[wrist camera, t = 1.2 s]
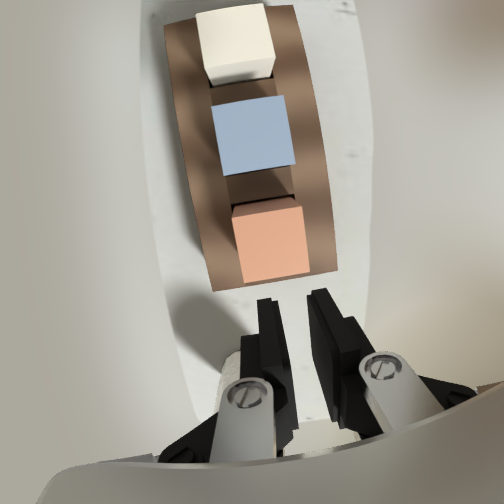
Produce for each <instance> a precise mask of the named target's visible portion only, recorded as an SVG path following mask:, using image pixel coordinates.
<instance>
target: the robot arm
mask: <svg viewBox="0 0 504 504" xmlns="http://www.w3.org/2000/svg"><path fill="white" fill-rule="evenodd" d="M307 305H308V315H309V326H310V337H311V348H312V357H313V361H314V364H315V368H316V371H317V374H318V377H319V381H320V384H321V387H322V391H323V394H324V397H325V401H326V404H327V407H328V411H329V414H330V418H331V421H332V422H336V421H337V422H338V425H339V428H340V429H344V428H348V429H350V430H353V431H354V436H355V439H356V442H353V443H350V444H345V445H341V446H337V447H332V448H328V449H323V450H319V451H314V452H308V453H302V454H297V455H291V456H285V451H284V447H285V446H286V445H287V444H288V443H289V442H290V441H291V440H292V439H293V432H292V430H296V429H299V427H298V418H297V410H296V402H295V394H294V386H293V379H292V371H291V365H290V359H289V354H288V349H287V344H286V339H285V334H284V329H283V324H282V320H281V315H280V310H279V305H278V300H277V301H272V300H271V298H266V299H260V300H257V309H258V323H259V334H253V335H246V336H241V347H240V379H239V380H237V381H234V382H233V383H231V384H230V385H228V386H227V387H226V388H225V390H224V391H223V394H222V397H221V402H220V407H219V411H218V412H217V413H215V414H214V415H213V416H211V417H210V418H208V419H207V420H206V421H204V422H203V423H201V424H200V425H199V426H197V427H196V428H194V429H193V430H192V431H190V432H189V433H187V434H186V435H184V436H183V437H181V438H180V439H178V440H177V441H175V442H174V443H172V444H171V445H169V446H168V447H167V448H166V449H164V450H163V451H162V453H161V454H160V455H158V456H154V455H153V454H152V453H151V454H146V455H141V456H135V457H129V458H123V459H116V460H109V461H101V462H97V463H92V464H86V465H80V466H75V467H71V468H68V469H66V470H63V471H61V472H59V473H58V474H56V475H55V476H54V477H53V478H52V479H51V480H50V481H49V483H48V484H47V485H46V487H45V488H44V490H43V492H42V493H41V495H40V497H39V498H38V500H37V502H36V504H504V381H501V382H497V383H492V384H488V385H483V386H478V387H476V389H475V391H474V390H472V389H471V388H469V387H466V386H463V385H459V384H454V383H449V382H445V381H440V380H436V379H432V378H427V377H423V376H419V375H417V374H416V373H415V372H414V370H413V369H412V368H411V367H410V365H409V364H408V363H407V362H406V361H405V359H403V358H402V357H401V356H400V355H398V354H396V353H393V352H388V351H387V352H386V351H385V352H375V350H374V348H373V347H372V345H371V344H370V342H369V340H368V338H367V337H366V335H365V334H364V332H363V330H362V329H361V327H360V325H359V324H358V322H357V321H356V319H355V318H354V317H353V316H351V317H346V318H343V316H342V314H341V313H340V311H339V309H338V307H337V306H336V304H335V302H334V300H333V299H332V297H331V295H330V294H329V292H328V290H327V289H326V288H323V289H317V290H312V291H311V295H307Z"/></svg>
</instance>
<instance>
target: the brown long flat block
mask: <svg viewBox="0 0 504 504" xmlns="http://www.w3.org/2000/svg"><path fill="white" fill-rule="evenodd" d="M264 9H265V13H266V18H267V22H268V26H269V30H270V34H271V39H272V43H273V47H274V52H275V56H276V58H275V61H274V65H273V68H272V71H271V75H270V78H269V79H262V80H255V81H248V82H242V83H236V84H230V85H225V86H219V87H213V85H212V83H211V81H210V79H209V77H208V75H207V72H206V70H205V68H204V62H203V56H202V50H201V44H200V38H199V32H198V26H197V20H196V18H192V19H187V20H183V21H179V22H175V23H172V24H168V25H164V34H165V41H166V49H167V57H168V64H169V71H170V78H171V84H172V91H173V97H174V103H175V110H176V116H177V122H178V127H179V133H180V139H181V144H182V150H183V155H184V161H185V166H186V171H187V176H188V181H189V187H190V192H191V196H192V201H193V206H194V211H195V216H196V220H197V225H198V230H199V234H200V239H201V243H202V248H203V252H204V257H205V261H206V265H207V270H208V274H209V278H210V282H211V286H212V290H213V292H215V291H221V290H228V289H234V288H240V287H246V286H253V285H259V284H265V283H271V282H277V281H283V280H288V279H294V278H300V277H305V276H311V275H317V274H322V273H327V272H333V271H338V266H337V253H336V242H335V231H334V221H333V212H332V203H331V195H330V187H329V179H328V172H327V165H326V158H325V151H324V145H323V139H322V133H321V127H320V121H319V116H318V110H317V105H316V100H315V95H314V90H313V85H312V80H311V75H310V71H309V66H308V62H307V58H306V53H305V49H304V45H303V41H302V37H301V33H300V29H299V25H298V22H297V18H296V14H295V11H294V7H293V5H281V6H268V7H264ZM280 95H284V100H285V106H286V111H287V116H288V122H289V127H290V133H291V139H292V145H293V151H294V157H295V163H296V164H293V165H286V166H279V167H273V168H266V169H260V170H254V171H248V172H242V173H237V174H231V175H226V176H224V175H223V170H222V164H221V159H220V153H219V148H218V142H217V137H216V131H215V125H214V120H213V114H212V108H211V107H212V106H217V105H222V104H227V103H233V102H238V101H244V100H251V99H257V98H264V97H272V96H280ZM287 196H290V197H292V198H293V199H294V200H295V201H296V202H297V203H299V204H300V205H301V206H302V211H303V218H304V226H305V234H306V242H307V250H308V259H309V268H310V272H307V273H301V274H295V275H290V276H284V277H278V278H272V279H266V280H260V281H254V282H248V283H244V280H243V275H242V270H241V264H240V259H239V254H238V249H237V244H236V239H235V233H234V228H233V223H232V214H233V211H234V207H235V205H239V204H245V203H251V202H257V201H262V200H269V199H275V198H281V197H287Z"/></svg>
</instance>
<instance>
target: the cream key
mask: <svg viewBox="0 0 504 504" xmlns="http://www.w3.org/2000/svg"><path fill="white" fill-rule="evenodd" d="M196 20H197V26H198V32H199V38H200V44H201V50H202V56H203V62H204V68H205V70H206V72H207V75H208V77H209V79H210V81H211V83H212V85H213V87H219V86H225V85H230V84H236V83H242V82H248V81H255V80H262V79H269V78H270V75H271V71H272V68H273V65H274V61H275V58H276V56H275V52H274V47H273V43H272V39H271V34H270V30H269V26H268V22H267V18H266V13H265V9H264V5H263V3H260V4H251V5H243V6H235V7H229V8H223V9H217V10H212V11H206V12H202V13H197V14H196Z"/></svg>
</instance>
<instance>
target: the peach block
mask: <svg viewBox="0 0 504 504" xmlns="http://www.w3.org/2000/svg"><path fill="white" fill-rule="evenodd" d="M232 223H233V228H234V233H235V239H236V244H237V249H238V254H239V259H240V264H241V270H242V275H243V280H244V283H248V282H254V281H260V280H266V279H272V278H278V277H284V276H290V275H295V274H301V273H307V272H310V268H309V259H308V250H307V242H306V234H305V226H304V218H303V211H302V206H301V205H300V204H299V203H297V202H296V201H295V200H294V199H293V198H292V197H290V196H287V197H281V198H275V199H269V200H262V201H257V202H251V203H245V204H239V205H235V207H234V211H233V214H232Z"/></svg>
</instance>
